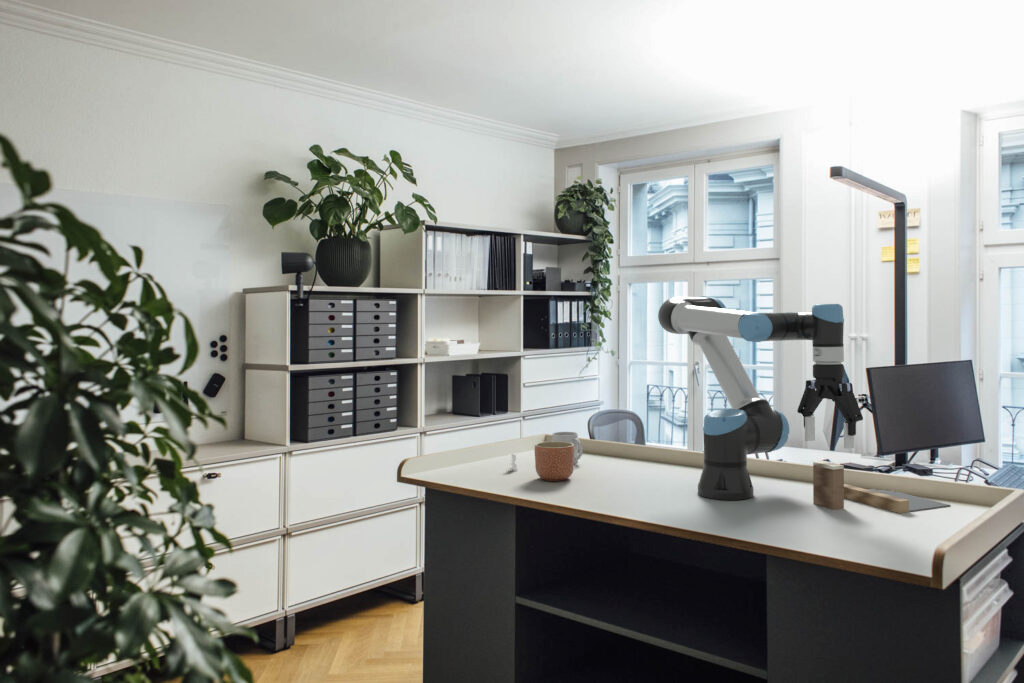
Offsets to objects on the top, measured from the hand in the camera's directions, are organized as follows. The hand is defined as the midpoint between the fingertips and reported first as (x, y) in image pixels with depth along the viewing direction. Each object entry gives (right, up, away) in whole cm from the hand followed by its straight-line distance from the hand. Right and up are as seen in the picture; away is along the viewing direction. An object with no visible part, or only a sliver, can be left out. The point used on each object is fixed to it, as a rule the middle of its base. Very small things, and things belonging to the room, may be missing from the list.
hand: (828, 444), depth 198 cm
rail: (+12, -16, +3) cm, 20 cm away
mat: (+20, -16, +6) cm, 27 cm away
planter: (-69, -16, +39) cm, 81 cm away
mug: (-64, -16, +66) cm, 93 cm away
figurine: (-82, -17, +54) cm, 100 cm away
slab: (0, -16, +1) cm, 16 cm away
